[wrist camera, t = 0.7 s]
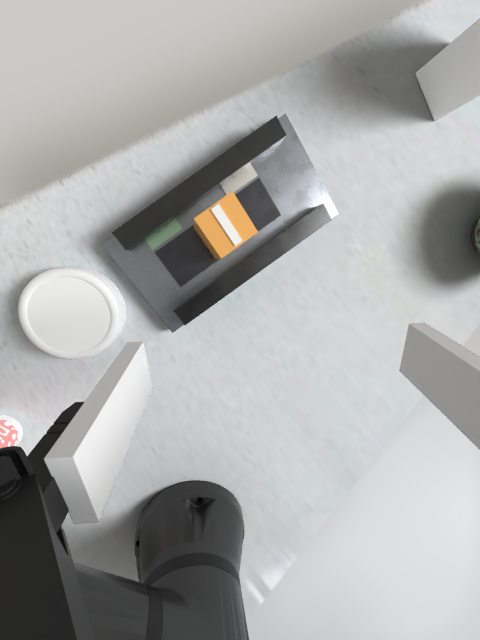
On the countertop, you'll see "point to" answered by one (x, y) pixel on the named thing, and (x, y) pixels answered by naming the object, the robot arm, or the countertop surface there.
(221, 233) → the lever
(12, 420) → the beverage cup
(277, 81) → the countertop surface
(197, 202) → the panel
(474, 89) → the milk
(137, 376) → the robot arm
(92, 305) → the coaster
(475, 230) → the bowl
